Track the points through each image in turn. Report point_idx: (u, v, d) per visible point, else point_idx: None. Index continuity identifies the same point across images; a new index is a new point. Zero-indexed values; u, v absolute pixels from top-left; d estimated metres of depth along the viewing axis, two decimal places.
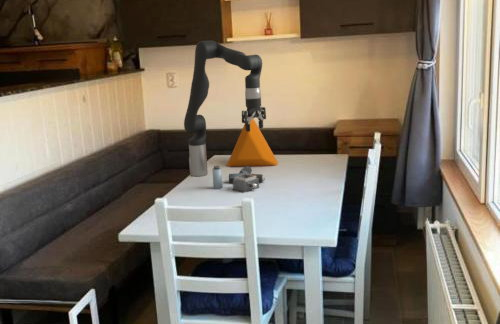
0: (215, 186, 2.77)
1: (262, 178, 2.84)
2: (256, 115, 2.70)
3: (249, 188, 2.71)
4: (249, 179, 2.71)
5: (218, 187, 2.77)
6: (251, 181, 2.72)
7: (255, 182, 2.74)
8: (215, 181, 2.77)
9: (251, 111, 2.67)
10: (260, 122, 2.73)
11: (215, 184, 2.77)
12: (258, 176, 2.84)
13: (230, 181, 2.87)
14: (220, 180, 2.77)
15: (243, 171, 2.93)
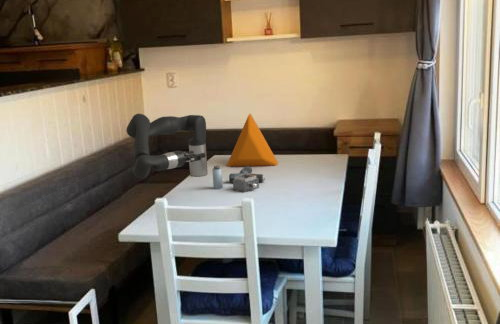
0: (215, 186, 2.77)
1: (262, 178, 2.84)
2: None
3: (249, 188, 2.71)
4: (249, 179, 2.71)
5: (218, 187, 2.77)
6: (251, 181, 2.72)
7: (255, 182, 2.74)
8: (215, 181, 2.77)
9: None
10: None
11: (215, 184, 2.77)
12: (258, 176, 2.84)
13: (230, 181, 2.87)
14: (220, 180, 2.77)
15: (243, 171, 2.93)
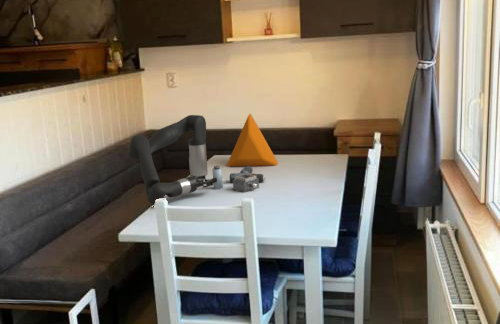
0: (215, 186, 2.77)
1: (263, 178, 2.84)
2: None
3: (249, 188, 2.71)
4: (249, 179, 2.71)
5: (218, 187, 2.77)
6: (251, 181, 2.72)
7: (255, 182, 2.74)
8: None
9: None
10: None
11: (215, 184, 2.77)
12: (259, 176, 2.84)
13: (231, 181, 2.87)
14: (220, 180, 2.77)
15: (244, 171, 2.93)
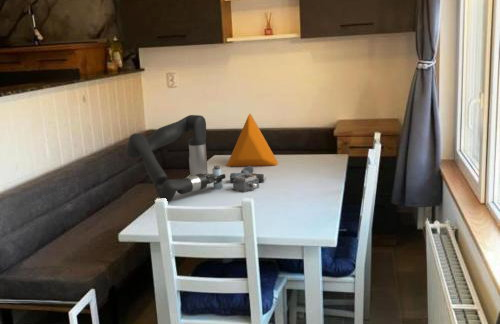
0: (215, 186, 2.77)
1: (263, 178, 2.84)
2: None
3: (249, 188, 2.71)
4: (249, 179, 2.71)
5: (218, 187, 2.77)
6: (251, 181, 2.72)
7: (255, 182, 2.74)
8: None
9: None
10: None
11: (215, 184, 2.77)
12: (259, 176, 2.84)
13: (231, 180, 2.87)
14: None
15: (244, 171, 2.94)
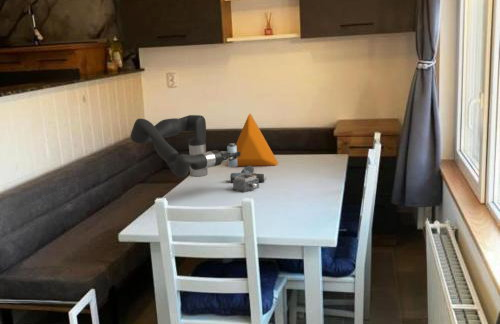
0: (230, 164, 2.71)
1: (263, 178, 2.84)
2: None
3: (249, 188, 2.71)
4: (249, 179, 2.71)
5: (233, 165, 2.71)
6: (251, 181, 2.72)
7: (255, 182, 2.74)
8: None
9: None
10: None
11: (230, 162, 2.71)
12: (259, 176, 2.84)
13: (232, 180, 2.88)
14: None
15: (245, 170, 2.94)
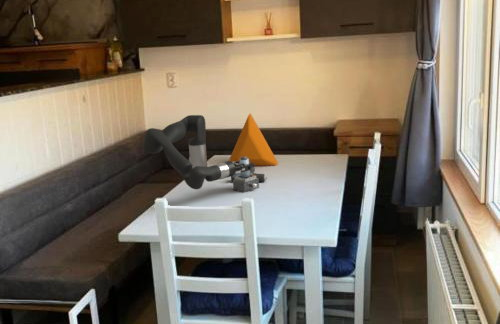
0: (242, 177, 2.72)
1: (264, 177, 2.84)
2: None
3: (249, 188, 2.71)
4: (249, 179, 2.71)
5: None
6: (251, 181, 2.72)
7: (255, 182, 2.74)
8: (242, 172, 2.71)
9: None
10: None
11: (242, 175, 2.72)
12: (260, 175, 2.85)
13: (232, 180, 2.88)
14: (247, 171, 2.71)
15: None
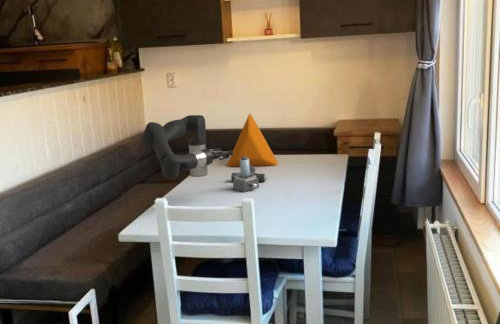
0: (242, 177, 2.72)
1: (264, 177, 2.85)
2: None
3: (249, 188, 2.71)
4: (249, 179, 2.71)
5: None
6: (251, 181, 2.72)
7: (255, 182, 2.74)
8: (243, 172, 2.71)
9: None
10: None
11: (242, 175, 2.72)
12: (260, 175, 2.85)
13: None
14: (247, 171, 2.71)
15: None
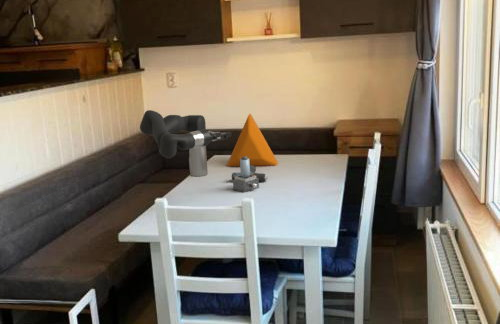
0: (243, 177, 2.72)
1: (264, 177, 2.85)
2: None
3: (249, 188, 2.71)
4: (249, 179, 2.71)
5: None
6: (251, 181, 2.72)
7: (255, 182, 2.74)
8: (243, 172, 2.71)
9: None
10: None
11: (243, 175, 2.72)
12: (261, 175, 2.85)
13: None
14: (248, 171, 2.72)
15: None
